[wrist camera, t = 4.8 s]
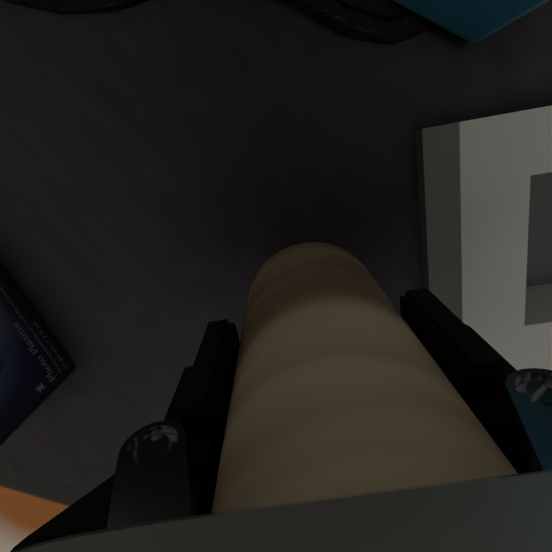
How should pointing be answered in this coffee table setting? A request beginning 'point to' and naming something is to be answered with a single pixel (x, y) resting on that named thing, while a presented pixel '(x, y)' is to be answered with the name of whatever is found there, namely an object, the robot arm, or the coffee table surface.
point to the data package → (472, 14)
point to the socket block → (491, 228)
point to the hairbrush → (321, 3)
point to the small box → (25, 359)
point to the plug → (338, 393)
